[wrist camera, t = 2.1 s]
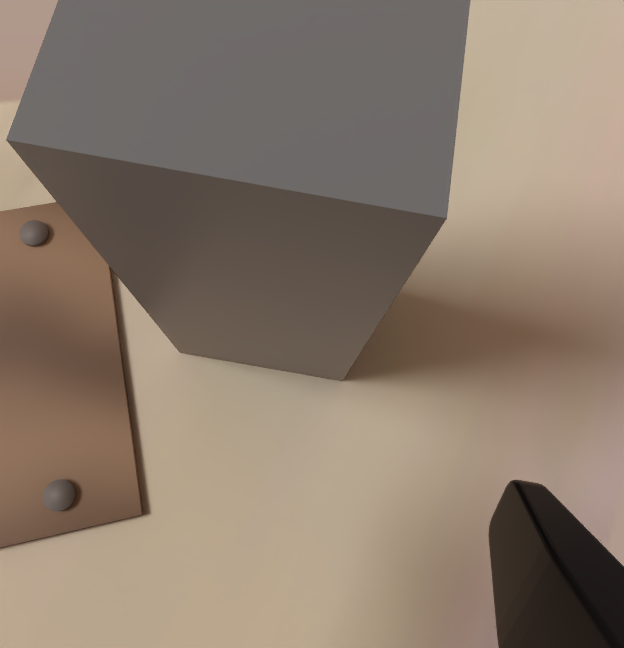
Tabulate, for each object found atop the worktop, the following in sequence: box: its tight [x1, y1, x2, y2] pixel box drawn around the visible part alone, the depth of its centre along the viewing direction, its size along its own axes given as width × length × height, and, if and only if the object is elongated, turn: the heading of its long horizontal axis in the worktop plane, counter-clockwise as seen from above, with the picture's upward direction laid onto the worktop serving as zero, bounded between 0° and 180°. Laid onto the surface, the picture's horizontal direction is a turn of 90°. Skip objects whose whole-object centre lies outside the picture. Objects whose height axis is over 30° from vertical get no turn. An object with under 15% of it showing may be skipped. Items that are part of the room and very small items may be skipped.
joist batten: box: [0, 202, 143, 547], centre depth 19 cm, size 12×5×1 cm, turn 13°
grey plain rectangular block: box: [6, 0, 470, 381], centre depth 14 cm, size 4×6×13 cm
